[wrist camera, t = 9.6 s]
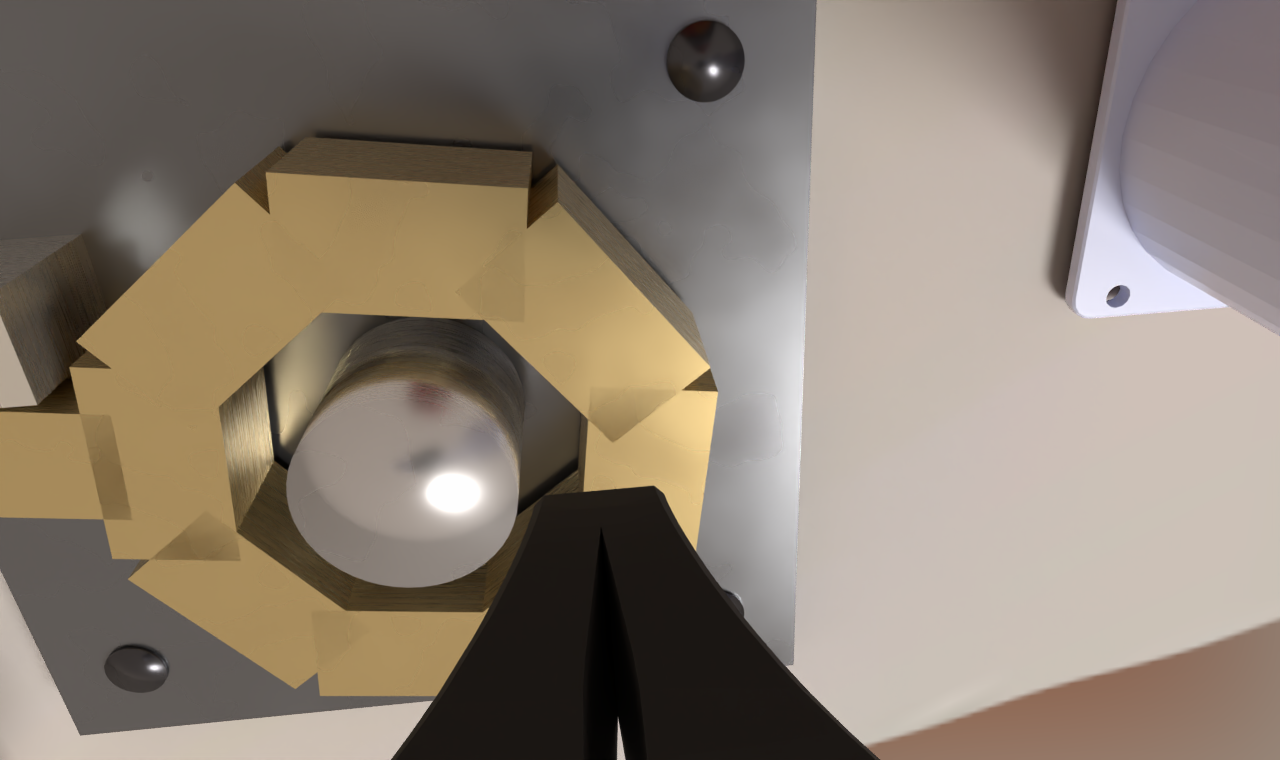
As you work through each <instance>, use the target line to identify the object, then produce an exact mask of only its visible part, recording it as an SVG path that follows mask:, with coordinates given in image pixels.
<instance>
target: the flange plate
mask: <svg viewBox="0 0 1280 760" xmlns="http://www.w3.org/2000/svg"><path fill="white" fill-rule="evenodd" d="M815 28H816V0H0V408H8V407H20V406H32V405H38V404H39V403H40V402H41V401H42V400H43V399H44V398H45V397H46V396H48V395H49V394H50V393H51V392H52V391H53V390H54V389H55V388H56V387H57V386H58V385H59V384H60V383H61V382H62V381H64V380H65V379H66V378H67V377H68V376H69V375H70V374H71V372H70V368H69V367H70V366H71V365H72V364H73V363H75V362H76V361H77V360H78V359H79V358H80V357H81V356H82V355H83V354H84V353H85V352H86V351H88V350H86V349H85V348H84V347H82V346H81V345H80V344H78V343H77V342H76V341H77V340H78V339H79V338H80V337H81V336H82V335H83V334H84V333H85V332H86V331H87V330H88V329H89V328H90V327H91V326H92V325H93V324H94V323H95V322H96V321H97V320H98V319H99V318H100V317H101V316H102V315H103V314H104V313H105V312H106V311H107V310H108V309H109V308H110V307H111V306H112V305H113V304H114V303H115V302H116V301H117V300H118V299H119V298H120V297H121V296H122V295H123V294H124V293H125V292H126V291H127V290H128V289H129V288H130V287H131V286H132V285H133V284H134V283H135V282H136V281H137V280H138V279H139V278H140V277H141V276H142V275H143V274H144V273H145V272H146V271H147V270H148V269H149V268H150V267H151V266H152V265H153V264H154V263H155V262H156V261H157V260H158V259H159V258H160V257H161V256H162V255H163V254H164V253H165V252H166V251H167V250H168V249H169V248H170V247H171V246H172V245H173V244H174V243H175V242H176V241H177V240H178V239H179V238H180V237H181V236H182V235H183V234H184V233H185V232H186V231H187V230H188V229H189V228H190V227H191V226H192V225H193V224H194V223H195V222H196V221H197V220H198V219H199V218H200V217H201V216H202V215H203V214H204V213H205V212H206V211H207V210H208V209H209V208H210V207H211V206H212V205H213V204H214V203H215V202H216V201H217V200H218V199H219V198H220V197H221V196H222V195H223V194H224V193H225V192H226V191H227V190H228V189H229V188H230V187H231V186H232V185H233V184H234V183H235V182H236V181H237V180H239V179H240V178H241V177H242V176H243V175H245V174H246V173H247V172H248V171H250V170H251V169H252V168H253V167H254V166H256V165H257V164H258V163H259V162H261V161H262V160H263V159H264V158H265V157H267V156H268V155H269V154H270V153H271V152H273V151H274V150H275V149H276V148H278V147H279V146H280V147H281V148H282V149H283V150H284V151H285V152H286V153H288V152H290V151H291V150H292V149H293V148H294V147H295V146H296V145H298V144H299V143H300V142H301V141H302V140H303V139H304V138H306V137H314V138H330V139H345V140H360V141H375V142H390V143H406V144H421V145H436V146H451V147H466V148H482V149H497V150H512V151H527V152H532V172H531V188H532V187H533V186H534V185H535V184H536V183H537V182H538V181H539V180H541V179H542V178H543V177H544V176H545V175H546V174H547V173H548V172H550V171H551V170H552V169H553V168H554V167H555V166H556V165H557V164H558V165H559V166H560V167H561V168H562V169H563V170H564V171H565V172H566V174H567V175H568V176H569V177H570V178H571V179H572V180H573V181H574V182H575V183H576V185H577V186H578V187H579V188H580V189H581V190H582V191H583V192H584V193H585V195H586V196H587V197H588V198H589V199H590V200H591V201H592V202H593V203H594V204H595V206H596V207H597V208H598V209H599V210H600V211H601V212H602V213H603V214H604V216H605V217H606V218H607V219H608V220H609V221H610V222H611V223H612V224H613V225H614V227H615V228H616V229H617V230H618V231H619V232H620V233H621V234H622V235H623V237H624V238H625V239H626V240H627V241H628V242H629V243H630V244H631V245H632V246H633V248H634V249H635V250H636V251H637V252H638V253H639V254H640V255H641V256H642V258H643V259H644V260H645V261H646V262H647V263H648V264H649V265H650V266H651V267H652V269H653V270H654V271H655V272H656V273H657V274H658V275H659V276H660V277H661V279H662V280H663V281H664V282H665V283H666V284H667V285H668V286H669V287H670V288H671V290H672V291H673V292H674V293H675V294H676V295H677V296H678V297H679V298H680V300H681V301H682V302H683V303H684V304H685V305H686V306H687V307H688V308H689V309H690V311H691V312H692V313H693V316H694V319H695V322H696V325H697V328H698V331H699V334H700V337H701V340H702V343H703V346H704V349H705V352H706V355H707V358H708V361H709V364H710V367H711V368H710V369H711V372H712V375H713V378H714V381H715V384H716V387H717V390H718V396H717V403H716V411H715V418H714V425H713V432H712V439H711V446H710V454H709V461H708V468H707V475H706V482H705V490H704V497H703V504H702V511H701V518H700V525H699V533H698V540H697V547H696V552H697V554H698V555H699V557H700V558H701V560H702V561H703V563H704V564H705V566H706V567H707V568H708V570H709V571H710V573H711V574H712V576H713V577H714V578H715V580H716V581H717V582H718V584H719V585H720V586H721V588H722V589H723V590H724V592H725V593H726V594H727V596H728V597H729V598H730V600H731V601H732V602H733V604H734V605H735V606H736V608H737V609H738V610H739V612H740V613H741V614H742V615H743V617H744V618H745V619H746V620H747V622H748V623H749V624H750V625H751V627H752V628H753V629H754V630H755V632H756V633H757V634H758V635H759V636H760V637H761V639H762V640H763V641H764V642H765V643H766V644H767V646H768V647H769V648H770V649H771V650H772V651H773V653H774V654H775V655H776V656H777V657H778V658H779V659H780V661H781V662H782V663H783V664H784V665H785V666H787V665H793V661H794V632H795V603H796V574H797V546H798V517H799V488H800V459H801V431H802V402H803V373H804V344H805V316H806V287H807V258H808V229H809V201H810V172H811V143H812V114H813V86H814V57H815ZM263 369H264V377H265V386H266V395H267V403H268V412H269V420H270V429H271V438H272V446H273V455H274V461H275V462H277V463H278V464H279V465H281V466H282V467H283V468H284V469H286V470H287V471H288V474H287V481H286V493H287V501H288V506H289V510H290V513H291V515H292V518H293V521H294V523H295V525H296V526H297V528H298V530H299V532H300V533H301V535H302V536H303V538H304V539H305V540H306V542H307V543H308V544H309V545H310V546H311V547H312V548H313V549H314V550H315V551H316V552H317V553H318V554H319V555H320V556H321V557H322V558H324V559H325V560H326V561H327V562H329V563H330V564H332V565H333V566H335V567H337V568H338V569H340V570H342V571H344V572H346V573H348V574H350V575H352V576H354V577H357V578H359V579H362V580H365V581H368V582H372V583H376V584H379V585H385V586H392V587H405V588H413V587H427V586H434V585H439V584H443V583H447V582H450V581H453V580H456V579H458V578H461V577H463V576H465V575H467V574H469V573H471V572H473V571H475V570H476V569H478V568H479V567H481V566H482V565H484V564H485V563H486V562H487V561H488V560H490V559H491V558H492V557H493V556H494V555H495V554H496V553H497V552H498V550H499V549H500V548H501V547H502V546H503V544H504V543H505V541H506V539H507V538H508V536H509V534H510V532H511V530H512V528H513V525H514V522H515V518H516V517H517V516H518V515H519V514H521V513H522V512H523V511H524V510H526V509H527V508H528V507H530V506H531V505H532V504H533V503H535V502H536V501H537V500H539V499H540V498H541V497H543V496H544V495H545V494H546V493H548V492H549V491H550V490H552V489H553V488H554V487H555V486H557V485H558V484H559V483H561V482H562V481H563V480H564V479H566V478H567V477H568V476H570V475H571V474H572V473H574V472H575V471H576V470H577V469H578V460H579V445H580V429H581V412H580V411H579V410H578V409H577V408H576V407H575V406H574V405H573V404H572V403H570V402H569V401H568V400H567V399H566V398H565V397H564V396H563V395H562V394H561V393H560V392H559V391H558V390H557V389H556V388H555V387H554V386H553V385H552V384H551V383H550V382H549V381H548V380H546V379H545V378H544V377H543V376H542V375H541V374H540V373H539V372H538V371H537V370H536V369H535V368H534V367H533V366H532V365H531V364H530V363H529V362H528V361H527V360H526V359H525V358H524V357H523V356H521V355H520V354H519V353H518V352H517V351H516V350H515V349H514V348H513V347H512V346H511V345H510V344H509V343H508V342H507V341H506V340H505V339H504V338H503V337H502V336H501V335H500V334H499V333H497V332H496V331H495V330H494V329H493V328H492V327H491V326H490V325H489V324H488V323H487V322H486V321H485V320H475V319H453V318H431V317H408V316H386V315H364V314H342V313H321V314H320V315H318V316H317V317H316V318H315V319H314V320H313V321H312V322H311V323H310V324H309V325H308V326H306V327H305V328H304V329H303V330H302V331H301V332H300V333H299V334H298V335H297V336H295V337H294V338H293V339H292V340H291V341H290V342H289V343H288V344H287V345H286V346H285V347H283V348H282V349H281V350H280V351H279V352H278V353H277V354H276V355H275V356H274V357H273V358H271V359H270V360H269V361H268V362H267V363H266V364H265V365H264V366H263ZM140 560H141V559H112V555H111V550H110V546H109V541H108V537H107V533H106V528H105V524H104V519H57V518H8V517H0V570H1V572H2V574H3V576H4V578H5V580H6V582H7V584H8V586H9V588H10V590H11V592H12V594H13V597H14V599H15V601H16V603H17V605H18V607H19V609H20V611H21V613H22V615H23V617H24V619H25V621H26V624H27V626H28V628H29V630H30V632H31V634H32V636H33V638H34V640H35V642H36V644H37V646H38V648H39V651H40V653H41V655H42V657H43V659H44V661H45V663H46V665H47V667H48V669H49V671H50V673H51V676H52V678H53V680H54V682H55V684H56V686H57V688H58V690H59V692H60V694H61V696H62V698H63V700H64V703H65V705H66V707H67V709H68V711H69V713H70V715H71V717H72V719H73V721H74V723H75V725H76V727H77V730H78V732H79V734H80V735H90V734H100V733H110V732H120V731H130V730H140V729H151V728H161V727H171V726H181V725H191V724H201V723H211V722H221V721H231V720H241V719H252V718H262V717H272V716H282V715H292V714H302V713H312V712H322V711H332V710H342V709H352V708H363V707H373V706H383V705H393V704H403V703H413V702H423V701H433V700H434V699H435V697H436V696H320V691H319V682H318V672H317V673H316V674H314V675H313V676H312V677H311V678H309V679H308V680H307V681H305V682H304V683H303V684H301V685H300V686H299V687H298V688H296V689H294V688H293V687H291V686H290V685H288V684H287V683H285V682H284V681H282V680H281V679H279V678H278V677H276V676H274V675H273V674H271V673H270V672H268V671H267V670H265V669H264V668H262V667H261V666H259V665H258V664H256V663H255V662H253V661H252V660H250V659H249V658H247V657H245V656H244V655H242V654H241V653H239V652H238V651H236V650H235V649H233V648H232V647H230V646H229V645H227V644H226V643H224V642H223V641H221V640H220V639H218V638H216V637H215V636H213V635H212V634H210V633H209V632H207V631H206V630H204V629H203V628H201V627H200V626H198V625H197V624H195V623H194V622H192V621H191V620H189V619H187V618H186V617H184V616H183V615H181V614H180V613H178V612H177V611H175V610H174V609H172V608H171V607H169V606H168V605H166V604H165V603H163V602H162V601H160V600H159V599H157V598H155V597H154V596H152V595H151V594H149V593H148V592H146V591H145V590H143V589H142V588H140V587H139V586H137V585H136V584H134V583H133V582H131V581H130V580H128V578H129V577H130V575H131V574H132V572H133V570H134V569H135V567H136V566H137V564H138V563H139V561H140Z"/></svg>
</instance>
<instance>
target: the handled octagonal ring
mask: <svg viewBox="0 0 1280 760" xmlns="http://www.w3.org/2000/svg"><path fill="white" fill-rule="evenodd" d="M531 172H532V152H527V151H512V150H497V149H482V148H466V147H451V146H436V145H421V144H406V143H390V142H375V141H360V140H345V139H330V138H314V137H306V138H304V139H303V140H302V141H301V142H300V143H299V144H298V145H296V146H295V147H294V148H293V149H292V150H291V151H290V152H288V153H286V152H285V151H284V150H283V149H282V148H281V147H280V146H279V147H278V148H276V149H275V150H274V151H273V152H271V153H270V154H269V155H268V156H267V157H265V158H264V159H263V160H262V161H261V162H259V163H258V164H257V165H256V166H254V167H253V168H252V169H251V170H250V171H248V172H247V173H246V174H245V175H243V176H242V177H241V178H240V179H239V180H237V181H236V182H235V183H234V184H233V185H232V186H231V187H230V188H229V189H228V190H227V191H226V192H225V193H224V194H223V195H222V196H221V197H220V198H219V199H218V200H217V201H216V202H215V203H214V204H213V205H212V206H211V207H210V208H209V209H208V210H207V211H206V212H205V213H204V214H203V215H202V216H201V217H200V218H199V219H198V220H197V221H196V222H195V223H194V224H193V225H192V226H191V227H190V228H189V229H188V230H187V231H186V232H185V233H184V234H183V235H182V236H181V237H180V238H179V239H178V240H177V241H176V242H175V243H174V244H173V245H172V246H171V247H170V248H169V249H168V250H167V251H166V252H165V253H164V254H163V255H162V256H161V257H160V258H159V259H158V260H157V261H156V262H155V263H154V264H153V265H152V266H151V267H150V268H149V269H148V270H147V271H146V272H145V273H144V274H143V275H142V276H141V277H140V278H139V279H138V280H137V281H136V282H135V283H134V284H133V285H132V286H131V287H130V288H129V289H128V290H127V291H126V292H125V293H124V294H123V295H122V296H121V297H120V298H119V299H118V300H117V301H116V302H115V303H114V304H113V305H112V306H111V307H110V308H109V309H108V310H107V311H106V312H105V313H104V314H103V315H102V316H101V317H100V318H99V319H98V320H97V321H96V322H95V323H94V324H93V325H92V326H91V327H90V328H89V329H88V330H87V331H86V332H85V333H84V334H83V335H82V336H81V337H80V338H79V339H78V340H77V341H76V342H77V343H78V344H80V345H81V346H82V347H84V348H85V349H86V350H88V351H86V352H85V353H84V354H83V355H82V356H81V357H80V358H79V359H78V360H77V361H76V362H75V363H73V364H72V365H71V366H70V367H69V368H70V372H71V374H70V375H69V376H68V377H67V378H66V379H65V380H64V381H62V382H61V383H60V384H59V385H58V386H57V387H56V388H55V389H54V390H53V391H52V392H51V393H50V394H49V395H48V396H46V397H45V398H44V399H43V400H42V401H41V402H40V403H39V404H38V405H32V406H20V407H8V408H0V517H8V518H57V519H104V524H105V528H106V533H107V537H108V541H109V546H110V550H111V555H112V559H141V560H140V561H139V563H138V564H137V566H136V567H135V569H134V570H133V572H132V574H131V575H130V577H129V578H128V580H130V581H131V582H133V583H134V584H136V585H137V586H139V587H140V588H142V589H143V590H145V591H146V592H148V593H149V594H151V595H152V596H154V597H155V598H157V599H159V600H160V601H162V602H163V603H165V604H166V605H168V606H169V607H171V608H172V609H174V610H175V611H177V612H178V613H180V614H181V615H183V616H184V617H186V618H187V619H189V620H191V621H192V622H194V623H195V624H197V625H198V626H200V627H201V628H203V629H204V630H206V631H207V632H209V633H210V634H212V635H213V636H215V637H216V638H218V639H220V640H221V641H223V642H224V643H226V644H227V645H229V646H230V647H232V648H233V649H235V650H236V651H238V652H239V653H241V654H242V655H244V656H245V657H247V658H249V659H250V660H252V661H253V662H255V663H256V664H258V665H259V666H261V667H262V668H264V669H265V670H267V671H268V672H270V673H271V674H273V675H274V676H276V677H278V678H279V679H281V680H282V681H284V682H285V683H287V684H288V685H290V686H291V687H293V688H294V689H296V688H298V687H299V686H300V685H301V684H303V683H304V682H305V681H307V680H308V679H309V678H311V677H312V676H313V675H314V674H316V673H317V672H318V682H319V691H320V696H437V694H438V693H439V691H440V690H441V688H442V687H443V685H444V683H445V682H446V680H447V678H448V677H449V675H450V674H451V672H452V670H453V669H454V667H455V666H456V664H457V662H458V661H459V659H460V657H461V656H462V654H463V653H464V651H465V649H466V648H467V646H468V644H469V643H470V641H471V640H472V638H473V636H474V635H475V633H476V631H477V629H478V628H479V626H480V624H481V622H482V620H483V619H484V617H485V615H486V613H487V611H488V609H489V607H490V605H491V603H492V601H493V600H494V598H495V596H496V594H497V592H498V590H499V588H500V586H501V584H502V582H503V581H504V579H505V577H506V575H507V573H508V570H509V568H510V566H511V564H512V562H513V560H514V558H515V555H516V553H517V551H518V549H519V546H520V544H521V542H522V539H523V537H524V535H525V532H526V529H527V527H528V524H529V521H530V519H531V516H532V512H533V509H534V506H535V504H536V503H537V502H538V501H539V500H540V499H541V498H542V497H541V498H540V499H539V500H537V501H536V502H535V503H533V504H532V505H531V506H530V507H528V508H527V509H526V510H524V511H523V512H522V513H521V514H519V515H518V516H517V517H516V518H515V522H514V525H513V528H512V530H511V532H510V534H509V536H508V538H507V539H506V541H505V543H504V544H503V546H502V547H501V548H500V549H499V550H498V552H497V553H496V554H495V555H494V556H493V557H492V558H491V559H490V560H488V561H487V562H486V563H485V564H484V565H482V566H481V567H479V568H478V569H476V570H475V571H473V572H471V573H469V574H467V575H465V576H463V577H461V578H458V579H456V580H453V581H450V582H447V583H443V584H439V585H434V586H427V587H413V588H405V587H392V586H385V585H379V584H376V583H372V582H368V581H365V580H362V579H359V578H357V577H354V576H352V575H350V574H348V573H346V572H344V571H342V570H340V569H338V568H337V567H335V566H333V565H332V564H330V563H329V562H327V561H326V560H325V559H324V558H322V557H321V556H320V555H319V554H318V553H317V552H316V551H315V550H314V549H313V548H312V547H311V546H310V545H309V544H308V543H307V542H306V540H305V539H304V538H303V536H302V535H301V533H300V532H299V530H298V528H297V526H296V525H295V523H294V521H293V518H292V515H291V513H290V510H289V506H288V501H287V493H286V481H287V474H288V471H287V470H286V469H284V468H283V467H282V466H281V465H279V464H278V463H277V462H275V461H274V455H273V446H272V438H271V429H270V420H269V412H268V403H267V395H266V386H265V377H264V369H263V366H264V365H265V364H266V363H267V362H268V361H269V360H270V359H271V358H273V357H274V356H275V355H276V354H277V353H278V352H279V351H280V350H281V349H282V348H283V347H285V346H286V345H287V344H288V343H289V342H290V341H291V340H292V339H293V338H294V337H295V336H297V335H298V334H299V333H300V332H301V331H302V330H303V329H304V328H305V327H306V326H308V325H309V324H310V323H311V322H312V321H313V320H314V319H315V318H316V317H317V316H318V315H320V314H321V313H342V314H364V315H386V316H408V317H431V318H453V319H475V320H485V321H486V322H487V323H488V324H489V325H490V326H491V327H492V328H493V329H494V330H495V331H496V332H497V333H499V334H500V335H501V336H502V337H503V338H504V339H505V340H506V341H507V342H508V343H509V344H510V345H511V346H512V347H513V348H514V349H515V350H516V351H517V352H518V353H519V354H520V355H521V356H523V357H524V358H525V359H526V360H527V361H528V362H529V363H530V364H531V365H532V366H533V367H534V368H535V369H536V370H537V371H538V372H539V373H540V374H541V375H542V376H543V377H544V378H545V379H546V380H548V381H549V382H550V383H551V384H552V385H553V386H554V387H555V388H556V389H557V390H558V391H559V392H560V393H561V394H562V395H563V396H564V397H565V398H566V399H567V400H568V401H569V402H570V403H572V404H573V405H574V406H575V407H576V408H577V409H578V410H579V411H580V412H581V429H580V445H579V460H578V469H577V470H576V471H575V472H574V473H572V474H571V475H570V476H568V477H567V478H566V479H564V480H563V481H562V482H561V483H559V484H558V485H557V486H555V487H554V488H553V489H552V490H550V491H549V492H548V493H546V494H545V495H553V494H564V493H575V492H587V491H598V490H609V489H620V488H632V487H643V486H655V487H657V488H658V489H659V490H660V491H661V492H663V493H664V494H665V497H666V499H667V502H668V504H669V506H670V508H671V510H672V512H673V514H674V516H675V518H676V519H677V521H678V523H679V525H680V526H681V528H682V530H683V532H684V533H685V535H686V537H687V538H688V540H689V541H690V543H691V544H692V546H693V547H694V549H695V551H696V547H697V540H698V533H699V525H700V518H701V511H702V504H703V497H704V490H705V482H706V475H707V468H708V461H709V454H710V446H711V439H712V432H713V425H714V418H715V411H716V403H717V396H718V390H717V387H716V384H715V381H714V378H713V375H712V372H711V369H710V368H711V367H710V364H709V361H708V358H707V355H706V352H705V349H704V346H703V343H702V340H701V337H700V334H699V331H698V328H697V325H696V322H695V319H694V316H693V313H692V312H691V311H690V309H689V308H688V307H687V306H686V305H685V304H684V303H683V302H682V301H681V300H680V298H679V297H678V296H677V295H676V294H675V293H674V292H673V291H672V290H671V288H670V287H669V286H668V285H667V284H666V283H665V282H664V281H663V280H662V279H661V277H660V276H659V275H658V274H657V273H656V272H655V271H654V270H653V269H652V267H651V266H650V265H649V264H648V263H647V262H646V261H645V260H644V259H643V258H642V256H641V255H640V254H639V253H638V252H637V251H636V250H635V249H634V248H633V246H632V245H631V244H630V243H629V242H628V241H627V240H626V239H625V238H624V237H623V235H622V234H621V233H620V232H619V231H618V230H617V229H616V228H615V227H614V225H613V224H612V223H611V222H610V221H609V220H608V219H607V218H606V217H605V216H604V214H603V213H602V212H601V211H600V210H599V209H598V208H597V207H596V206H595V204H594V203H593V202H592V201H591V200H590V199H589V198H588V197H587V196H586V195H585V193H584V192H583V191H582V190H581V189H580V188H579V187H578V186H577V185H576V183H575V182H574V181H573V180H572V179H571V178H570V177H569V176H568V175H567V174H566V172H565V171H564V170H563V169H562V168H561V167H560V166H559V165H558V164H557V165H556V166H555V167H554V168H553V169H552V170H551V171H550V172H548V173H547V174H546V175H545V176H544V177H543V178H542V179H541V180H539V181H538V182H537V183H536V184H535V185H534V186H533V187H532V188H531Z"/></svg>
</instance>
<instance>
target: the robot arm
mask: <svg viewBox="0 0 1280 760" xmlns="http://www.w3.org/2000/svg"><path fill="white" fill-rule="evenodd" d="M1119 285H1120V290H1119V292H1118V294H1117V295H1116V296H1115V297H1114V298H1113V299H1111V300H1108V301H1106V297H1107V295H1108V292H1109V291H1110V290H1111V289H1112V288H1114V287H1116V286H1119ZM1065 296H1066V303H1067V305H1068V307H1069V309H1071V310H1072V311H1073V312H1075V313H1076V314H1077V315H1079V316H1081V317H1082V318H1103V317H1115V316H1127V315H1139V314H1151V313H1163V312H1175V311H1188V310H1200V309H1212V308H1224V307H1231V308H1232V309H1234V310H1236V311H1238V312H1239V313H1241V314H1243V315H1244V316H1246V317H1248V318H1250V319H1251V320H1253V321H1255V322H1256V323H1258V324H1260V325H1262V326H1263V327H1265V328H1267V329H1268V330H1270V331H1272V332H1274V333H1275V334H1277V335H1279V336H1280V0H1117V6H1116V12H1115V17H1114V23H1113V29H1112V34H1111V40H1110V46H1109V51H1108V57H1107V63H1106V68H1105V74H1104V79H1103V85H1102V91H1101V96H1100V102H1099V108H1098V113H1097V119H1096V125H1095V130H1094V136H1093V141H1092V147H1091V153H1090V158H1089V164H1088V170H1087V175H1086V181H1085V187H1084V192H1083V198H1082V204H1081V209H1080V215H1079V220H1078V226H1077V232H1076V237H1075V243H1074V249H1073V254H1072V260H1071V266H1070V271H1069V277H1068V282H1067V288H1066V294H1065ZM618 719H619V725H620V730H621V736H622V742H623V748H624V753H625V759H626V760H880V759H879V758H878V757H876V756H875V755H874V754H873V753H872V752H871V751H870V750H869V749H868V748H867V747H866V746H864V745H863V744H862V743H861V742H860V741H859V740H858V739H857V738H856V737H855V736H853V735H852V734H851V733H850V732H849V731H848V730H847V729H846V728H845V727H844V726H843V725H842V724H841V723H840V722H839V721H838V720H837V719H836V718H835V717H834V716H833V715H832V714H831V713H830V712H829V711H828V710H827V709H826V708H825V707H824V706H823V705H822V704H821V703H820V702H819V701H818V700H817V699H816V698H815V697H814V696H813V695H812V694H811V693H810V692H809V691H808V690H807V689H806V688H805V687H804V686H803V685H802V684H801V683H800V682H799V680H798V679H797V678H796V677H795V676H794V675H793V674H792V673H791V672H790V671H789V670H788V668H787V667H786V666H785V665H784V664H783V663H782V662H781V661H780V659H779V658H778V657H777V656H776V655H775V654H774V653H773V651H772V650H771V649H770V648H769V647H768V646H767V644H766V643H765V642H764V641H763V640H762V639H761V637H760V636H759V635H758V634H757V633H756V632H755V630H754V629H753V628H752V627H751V625H750V624H749V623H748V622H747V620H746V619H745V618H744V617H743V615H742V614H741V613H740V612H739V610H738V609H737V608H736V606H735V605H734V604H733V602H732V601H731V600H730V598H729V597H728V596H727V594H726V593H725V592H724V590H723V589H722V588H721V586H720V585H719V584H718V582H717V581H716V580H715V578H714V577H713V576H712V574H711V573H710V571H709V570H708V568H707V567H706V566H705V564H704V563H703V561H702V560H701V558H700V557H699V555H698V554H697V552H696V551H695V549H694V547H693V546H692V544H691V543H690V541H689V540H688V538H687V537H686V535H685V533H684V532H683V530H682V528H681V526H680V525H679V523H678V521H677V519H676V518H675V516H674V514H673V512H672V510H671V508H670V506H669V504H668V502H667V499H666V497H665V494H664V493H663V492H661V491H660V490H659V489H658V488H657V487H655V486H643V487H632V488H620V489H609V490H598V491H587V492H575V493H564V494H553V495H544V496H543V497H542V498H541V499H540V500H539V501H538V502H537V503H536V504H535V506H534V509H533V512H532V516H531V519H530V521H529V524H528V527H527V529H526V532H525V535H524V537H523V539H522V542H521V544H520V546H519V549H518V551H517V553H516V555H515V558H514V560H513V562H512V564H511V566H510V568H509V570H508V573H507V575H506V577H505V579H504V581H503V582H502V584H501V586H500V588H499V590H498V592H497V594H496V596H495V598H494V600H493V601H492V603H491V605H490V607H489V609H488V611H487V613H486V615H485V617H484V619H483V620H482V622H481V624H480V626H479V628H478V629H477V631H476V633H475V635H474V636H473V638H472V640H471V641H470V643H469V644H468V646H467V648H466V649H465V651H464V653H463V654H462V656H461V657H460V659H459V661H458V662H457V664H456V666H455V667H454V669H453V670H452V672H451V674H450V675H449V677H448V678H447V680H446V682H445V683H444V685H443V687H442V688H441V690H440V691H439V693H438V694H437V696H436V697H435V699H434V700H433V702H432V703H431V705H430V706H429V708H428V709H427V711H426V712H425V714H424V715H423V716H422V718H421V719H420V721H419V722H418V724H417V725H416V726H415V728H414V729H413V731H412V732H411V733H410V735H409V736H408V738H407V739H406V740H405V742H404V743H403V744H402V746H401V747H400V748H399V750H398V751H397V752H396V754H395V755H394V756H393V758H392V759H391V760H617V733H618Z"/></svg>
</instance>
